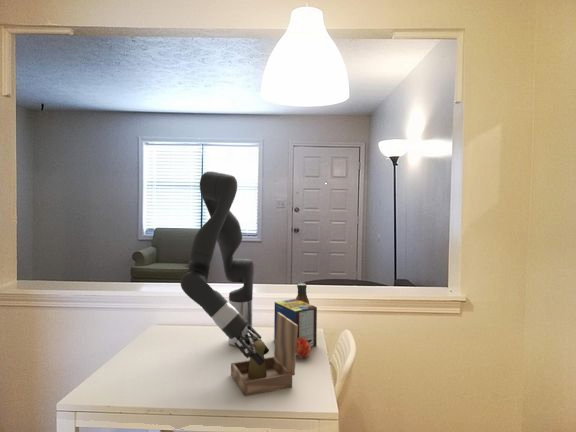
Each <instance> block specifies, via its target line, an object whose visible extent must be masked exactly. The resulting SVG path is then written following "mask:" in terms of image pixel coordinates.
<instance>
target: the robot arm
mask: <svg viewBox="0 0 576 432" xmlns="http://www.w3.org/2000/svg"><path fill="white" fill-rule="evenodd" d="M199 179H200V181H199V190H200V191H199V192H200V194H201V198H202V200H203V202H204V204H205V207H206V210H207V212H208V215H209V216H210V217H209V219H208V220H207V221H206V222H204V224H202V226H201V227H200V228H199V230H198V231H197V232H196V234H195V236H194V239H193V243H192V245H191V249H190V254H189V265H188V269H187V272H186V273H185V274H183V276H181V279H180V287H181V290H182V291H183V292H184V293H185V295H186V296H188V297H189V298H190V299H191V300H192V301H193V302H194V303H196V304H197V305H198V306H200V307H201V308H202V309H203V310H204V312H205V313H206V314H207V315H208V316H209V317H210V318H211V319H212V321H213V322H214V324H216V326H217V328H219V329H220V330H221V331H222V332H223V333H224V334H225V335H226V336H227V337H228V344H229V345H231V346H233V347H236V348H237V349H238V350H239V351H240V353H242V354H243V355H244V357H245V358H246V359H250V358H251V357H252V358H253V360H254V361H255V362H256V363H257V364H258V365H262V364H263V363H264V361H265V360H264V359H263V358H262V357H261V356H260V354H259V353H258V352H256V350H255V348H254V343H253V341H256V340H259V341H262V342H263V339H262V336H261V335H260V334H259V333H258V332H257V330H255V329H254V328H253V294H254V293H253V290H254V273H255V272H254V271H255V268H254V266H255V265H254V261H253V260H252V259H250V258H249V259H248V258H234V254H235V252H236V251H237V250H238V248H239V247H240V245H241V243H242V241H243V234H242V229H241V223H240V222H239V220H238V219H237V217H236V216H235V215H234V214H233V212H232V211H231V210H230V209H231V208H232V205H233V203H234V200H235V198H236V195H237V191H238V179H236V177H235V176H234V175H232V174H226V173H222V172H217V171H205V172H204V173H203V174H202V175H201V177H200V178H199ZM217 244H218V246H219V250H220V254H221V257H222V258H221V259H222V265H223V270H224V275H225V278H226V280H227V281H228V282H230V283H238V284H239V283H242V284H243V285H242V286H241V287H240V288H238V289H234V290H232V291H230V292H229V294H228V300H227V299H226V298H225V297H224V296H223V294H221V293H220V292H219V291H218V290H215V289H213V288H212V287H211V285H209V284H208V280H209V278H208V277H209V275H210V269H211V268H210V267H211V262H212V259H213V255H214V254H215V253H214V251H215V249H216V245H217ZM269 352H270V349H269V348H268V347H267V346H266V345H265V351H264V356H266V355H267V354H268V353H269Z"/></svg>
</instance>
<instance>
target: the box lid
mask: <svg viewBox="0 0 576 432" xmlns="http://www.w3.org/2000/svg"><path fill="white" fill-rule="evenodd" d="M297 332H298V325H297V324H295V323H294V322H292V321H291V320H290V319H288V318H287V317H285V316H284V315H282V314H281V313H280V312H277V322H276V337H275V339H274V351H273V352H274V354H273V357H275V358H276V359H277V360H278V361H279V362H280V363H281V364H282V365H283V366H284V367H285V368H286V369H287V370H288V371H289V372H290V373H291V374H292V377H295V375H296V374H295V373H296V357H297V353H296V346H297Z"/></svg>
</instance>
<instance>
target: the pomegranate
mask: <svg viewBox="0 0 576 432" xmlns="http://www.w3.org/2000/svg"><path fill="white" fill-rule="evenodd" d="M311 341H312V340H306V339H305V338H300V337H299V338H297V346H296V355H297V356H298V357H299V358H300V359H305V358H307V357H308V356H309V355H310V354H311V351H312V347H311V346H310V342H311Z"/></svg>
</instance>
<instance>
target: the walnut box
mask: <svg viewBox="0 0 576 432" xmlns="http://www.w3.org/2000/svg"><path fill="white" fill-rule="evenodd" d="M264 359H265V366H266V373H267V376H266V377H265V378H261V379H255V380H253V379H250V378H249V377H248V370H249V362H250V359H248V360H243V361H237V362H236V361H234V362H231V363H230V376H231V378H232V379H233V380H234V382H235V383H236V385H237V386H238V387H239V389H240V391H241V393H242V394H243V396H244V397H246V396H252V395H257V394H262V393H267V392H268V393H269V392H274V391H278V390H279V391H280V390H283V389H290V388H292V387H293V376H292V374H291V373H290V372H289V371H288V370H287V369H286V368H285V367H284V366H283V365H282V364H281V363H280V362H279V361H278V360H277V359H276V358H275V357H274V356H268V357H264Z"/></svg>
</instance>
